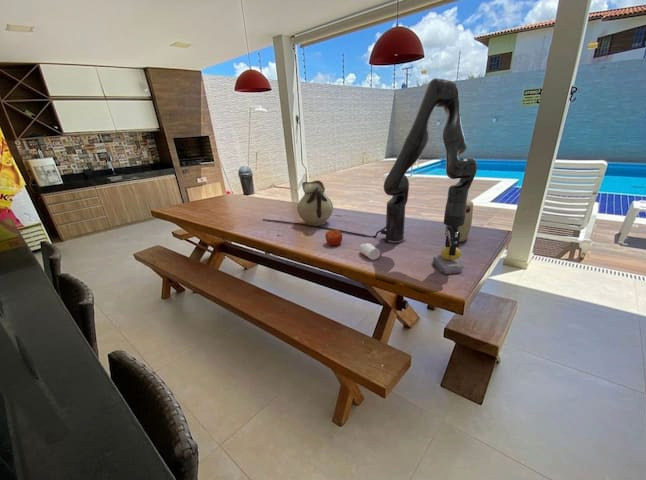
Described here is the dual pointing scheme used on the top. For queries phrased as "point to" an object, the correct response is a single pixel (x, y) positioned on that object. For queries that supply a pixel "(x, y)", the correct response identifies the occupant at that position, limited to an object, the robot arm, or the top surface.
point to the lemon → (446, 255)
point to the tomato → (333, 237)
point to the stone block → (447, 265)
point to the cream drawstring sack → (314, 204)
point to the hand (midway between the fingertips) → (449, 251)
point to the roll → (370, 251)
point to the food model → (466, 222)
